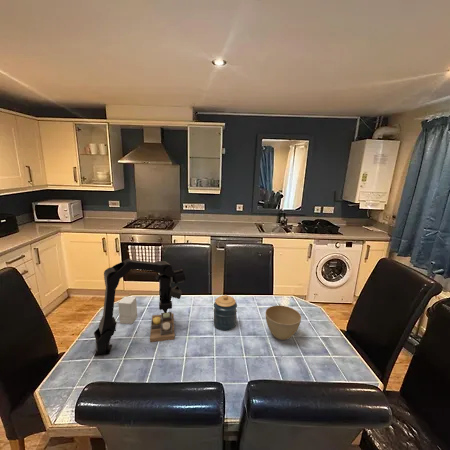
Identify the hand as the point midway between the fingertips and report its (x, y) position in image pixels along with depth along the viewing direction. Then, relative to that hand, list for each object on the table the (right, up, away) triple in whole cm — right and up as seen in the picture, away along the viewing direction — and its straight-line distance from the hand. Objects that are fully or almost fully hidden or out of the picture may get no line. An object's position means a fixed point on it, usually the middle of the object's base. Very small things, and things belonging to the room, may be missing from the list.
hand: (165, 312), depth 134 cm
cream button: (+1, -7, -4) cm, 8 cm away
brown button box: (-2, -9, +2) cm, 10 cm away
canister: (+32, -9, +7) cm, 34 cm away
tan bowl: (+62, -12, -1) cm, 63 cm away
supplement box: (-23, -8, +9) cm, 26 cm away
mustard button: (-5, -6, +1) cm, 8 cm away
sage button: (-1, -6, +8) cm, 10 cm away
